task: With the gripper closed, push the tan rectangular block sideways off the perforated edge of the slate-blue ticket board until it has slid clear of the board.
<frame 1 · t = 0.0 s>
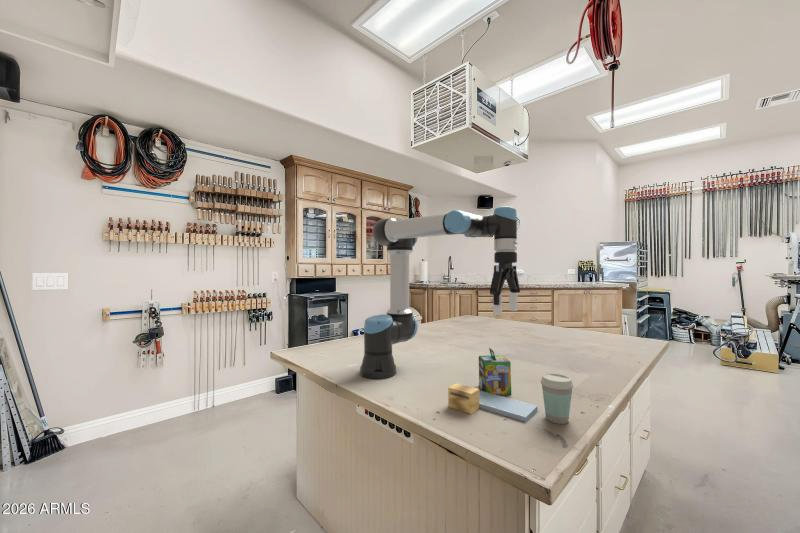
hand: (505, 312, 112), 28 cm above the table, fingers open, 13 cm apart
chalk box: (494, 391, 114), on the table
tan rectangular block: (463, 397, 99), point 3 cm above the table, slide at 0.0 cm
coffee cup: (556, 419, 92), on the table
ticket board: (493, 405, 102), on the table
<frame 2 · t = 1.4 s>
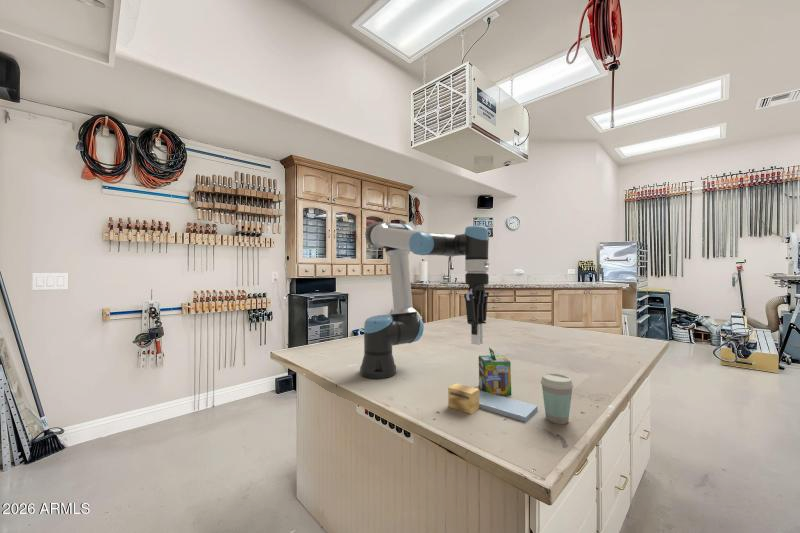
hand: (477, 343, 106), 18 cm above the table, fingers closed
nothing on the table moved.
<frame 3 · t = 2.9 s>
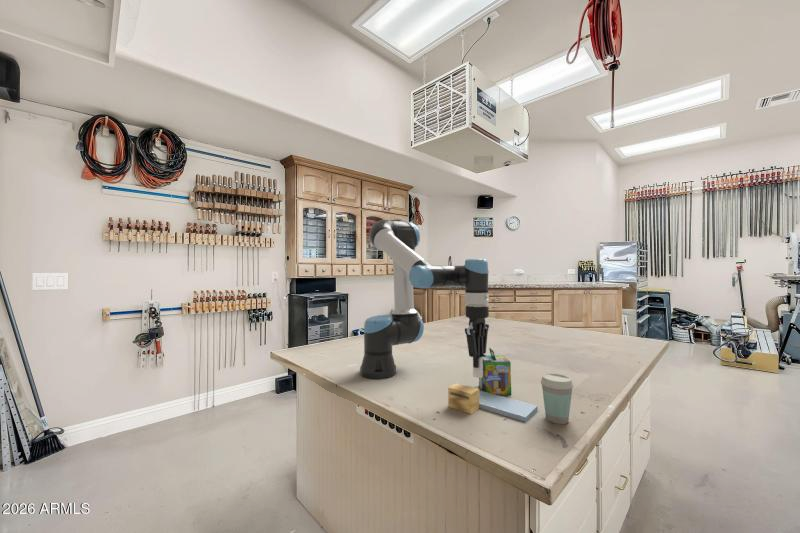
hand: (477, 376, 106), 8 cm above the table, fingers closed
nothing on the table moved.
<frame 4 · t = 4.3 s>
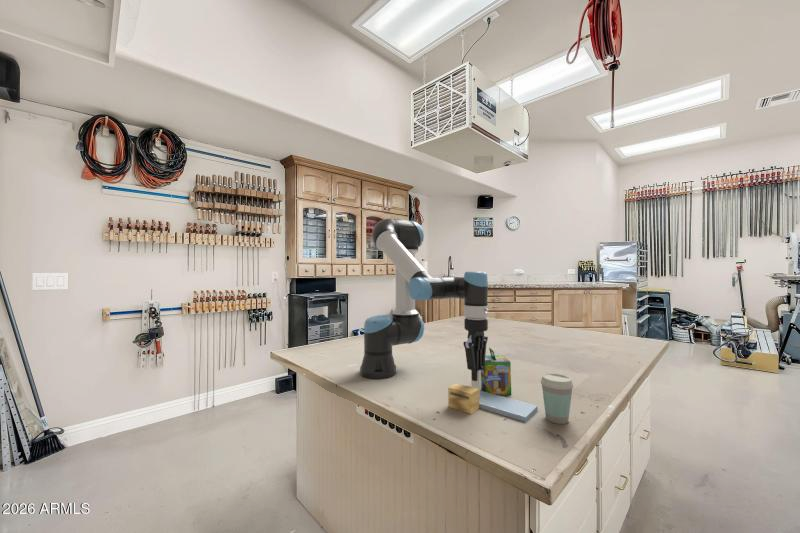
hand: (476, 389, 106), 3 cm above the table, fingers closed
nothing on the table moved.
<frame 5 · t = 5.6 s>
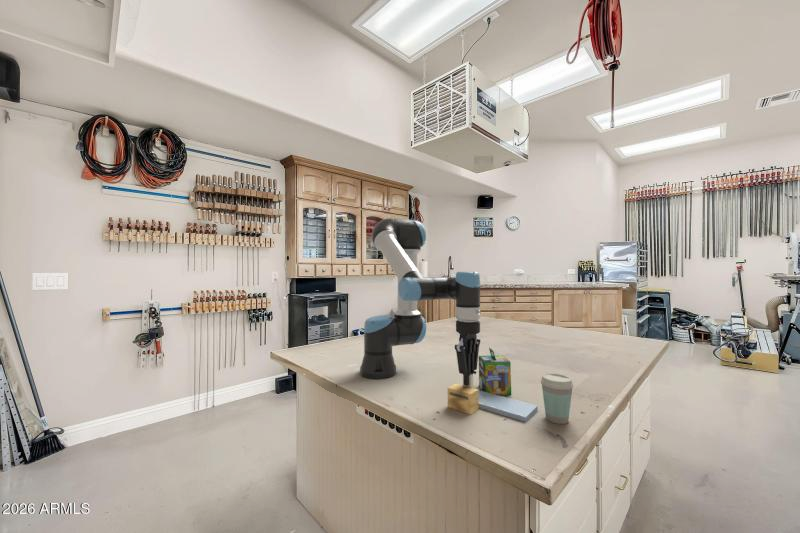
hand: (468, 394, 102), 3 cm above the table, fingers closed
tan rectangular block: (462, 398, 99), point 3 cm above the table, slide at 0.4 cm, touching gripper
everything else where it was.
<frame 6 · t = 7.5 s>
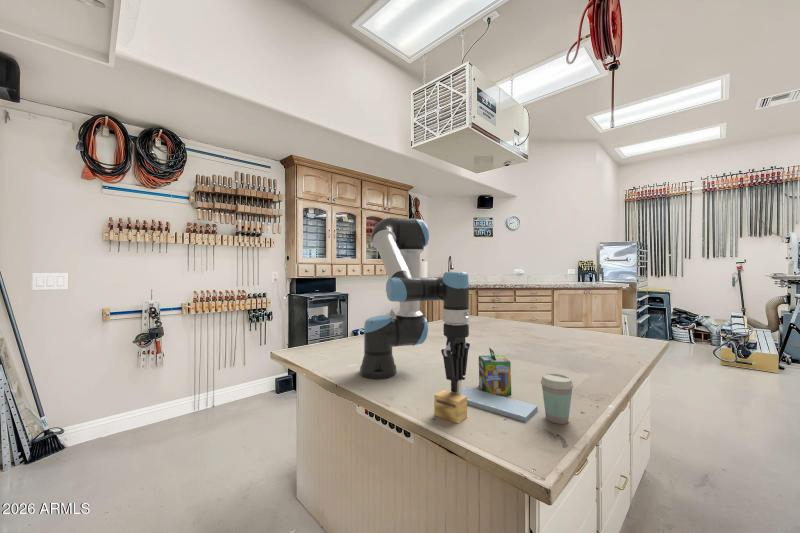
hand: (456, 401, 96), 3 cm above the table, fingers closed
tan rectangular block: (450, 405, 94), point 3 cm above the table, slide at 7.6 cm, touching gripper
everything else where it was.
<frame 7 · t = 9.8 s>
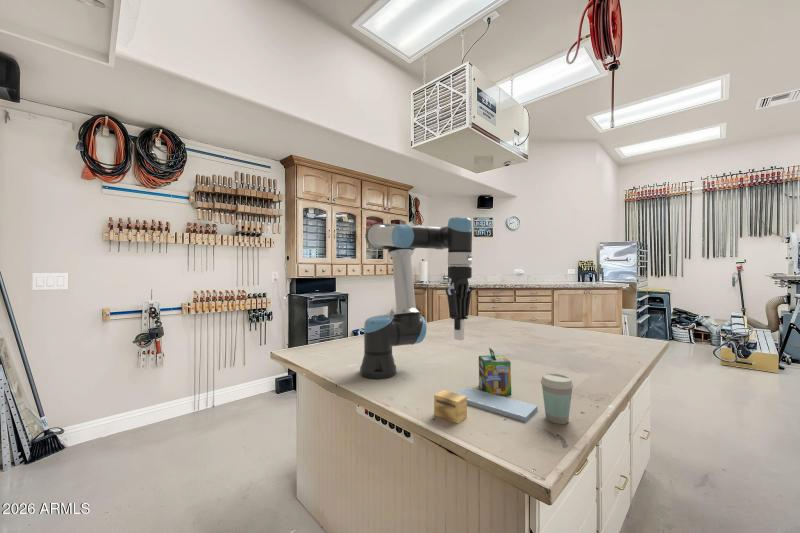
hand: (459, 339, 103), 21 cm above the table, fingers closed
tan rectangular block: (450, 406, 94), point 3 cm above the table, slide at 7.7 cm
everything else where it was.
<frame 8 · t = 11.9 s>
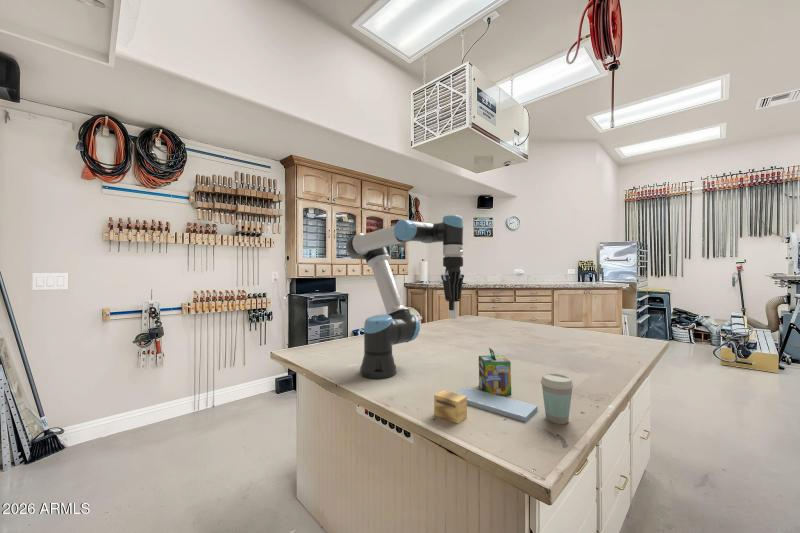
hand: (453, 318, 122), 24 cm above the table, fingers closed
nothing on the table moved.
at the end: tan rectangular block slide at 7.7 cm; tan rectangular block touching nothing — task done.
